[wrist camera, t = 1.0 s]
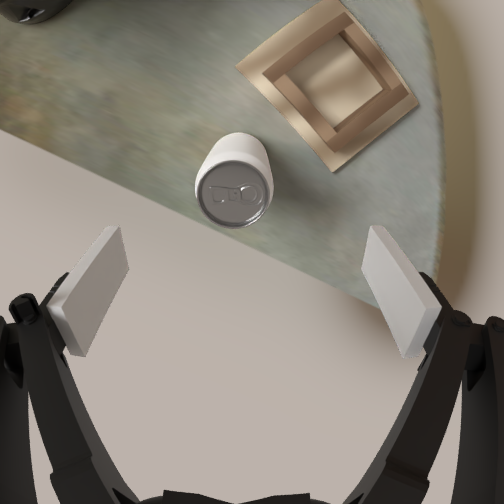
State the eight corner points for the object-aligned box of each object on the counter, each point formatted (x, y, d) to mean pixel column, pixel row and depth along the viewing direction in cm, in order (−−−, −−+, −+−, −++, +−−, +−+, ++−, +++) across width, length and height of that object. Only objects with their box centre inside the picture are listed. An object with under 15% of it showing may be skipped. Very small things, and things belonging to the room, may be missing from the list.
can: (268, 185, 35) (275, 232, 25) (212, 187, 35) (195, 235, 25) (267, 130, 32) (275, 153, 22) (208, 133, 32) (186, 157, 22)
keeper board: (235, 67, 28) (233, 64, 25) (330, -5, 23) (338, -13, 21) (330, 170, 34) (337, 179, 31) (415, 102, 29) (429, 105, 27)
